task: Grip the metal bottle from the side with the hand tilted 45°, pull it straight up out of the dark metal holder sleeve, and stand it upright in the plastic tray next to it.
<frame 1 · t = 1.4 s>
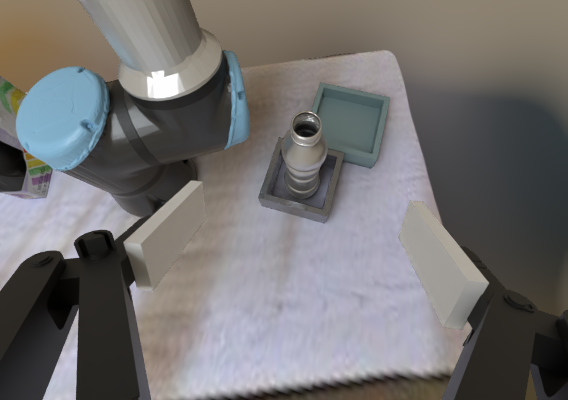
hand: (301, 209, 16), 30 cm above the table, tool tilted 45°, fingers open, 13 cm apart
holder sleeve: (301, 185, 48), on the table
tray: (343, 129, 51), on the table
metal bottle: (301, 185, 48), resting in holder sleeve
purple product box: (46, 160, 52), on the table
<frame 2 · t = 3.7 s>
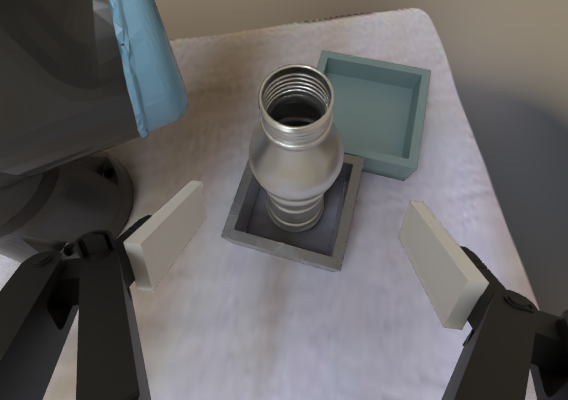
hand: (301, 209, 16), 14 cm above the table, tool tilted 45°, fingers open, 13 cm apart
holder sleeve: (295, 208, 31), on the table
tray: (358, 121, 34), on the table
metal bottle: (295, 209, 31), resting in holder sleeve
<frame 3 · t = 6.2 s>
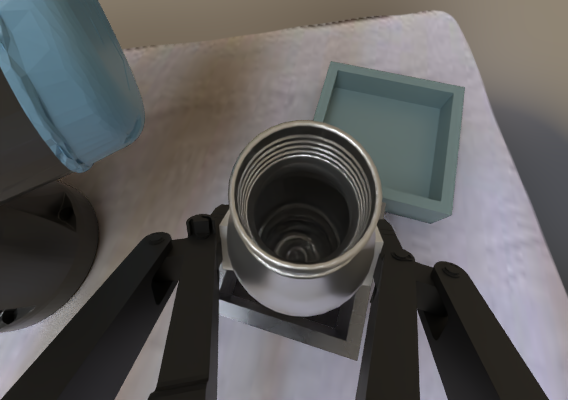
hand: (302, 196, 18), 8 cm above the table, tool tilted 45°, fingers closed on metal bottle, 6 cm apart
holder sleeve: (296, 258, 25), on the table
tray: (373, 147, 28), on the table
metal bottle: (296, 258, 25), resting in holder sleeve, touching gripper
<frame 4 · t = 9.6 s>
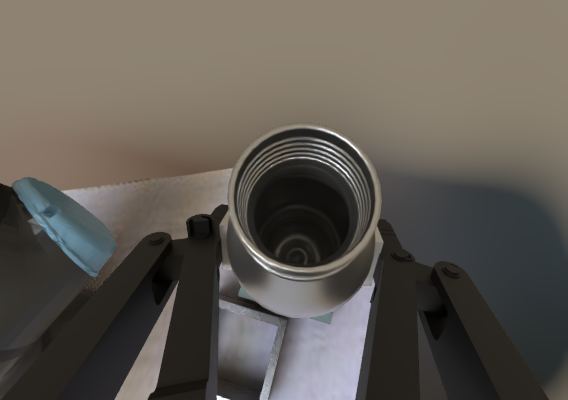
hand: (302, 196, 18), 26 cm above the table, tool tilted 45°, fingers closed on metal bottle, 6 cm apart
holder sleeve: (240, 345, 39), on the table
metal bottle: (296, 259, 25), point 18 cm above the table, touching gripper
when the fingers open (11 cm above the table, at t = 13.3 s): metal bottle drops 1 cm, resting on tray.
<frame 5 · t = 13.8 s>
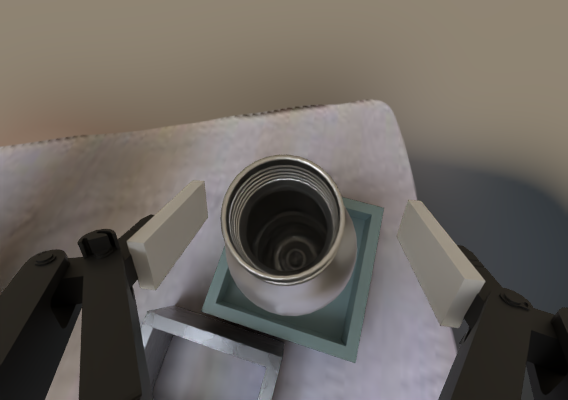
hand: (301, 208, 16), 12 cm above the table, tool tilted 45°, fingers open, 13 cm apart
holder sleeve: (206, 390, 24), on the table
tray: (296, 260, 27), on the table
metal bottle: (296, 260, 26), point 1 cm above the table, touching tray
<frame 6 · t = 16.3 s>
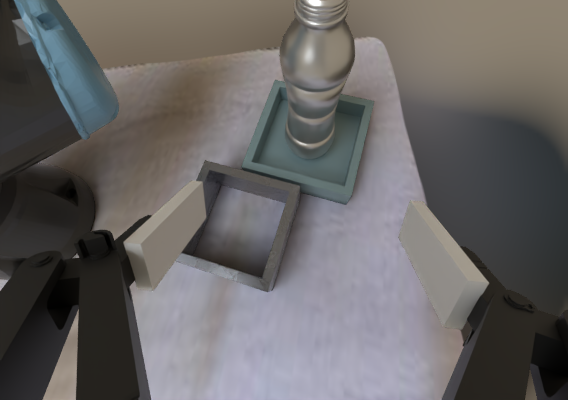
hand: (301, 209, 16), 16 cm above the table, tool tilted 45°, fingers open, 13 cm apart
holder sleeve: (242, 229, 33), on the table
tray: (308, 146, 36), on the table
metal bottle: (308, 144, 35), point 1 cm above the table, touching tray
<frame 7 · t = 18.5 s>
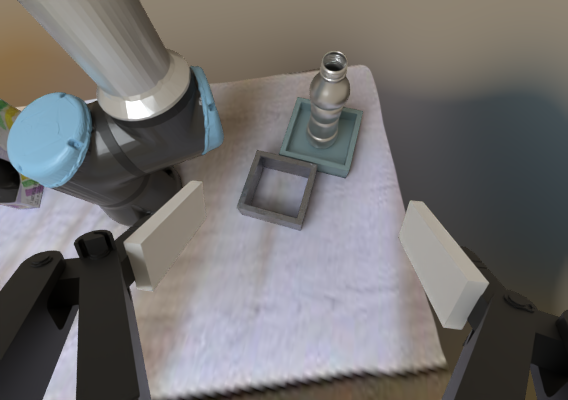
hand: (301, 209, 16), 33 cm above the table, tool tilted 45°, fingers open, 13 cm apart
holder sleeve: (279, 194, 51), on the table
tray: (320, 141, 55), on the table
metal bottle: (320, 139, 54), point 1 cm above the table, touching tray
purple product box: (40, 171, 55), on the table
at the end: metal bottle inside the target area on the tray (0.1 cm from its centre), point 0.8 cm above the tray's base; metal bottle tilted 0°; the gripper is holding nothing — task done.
